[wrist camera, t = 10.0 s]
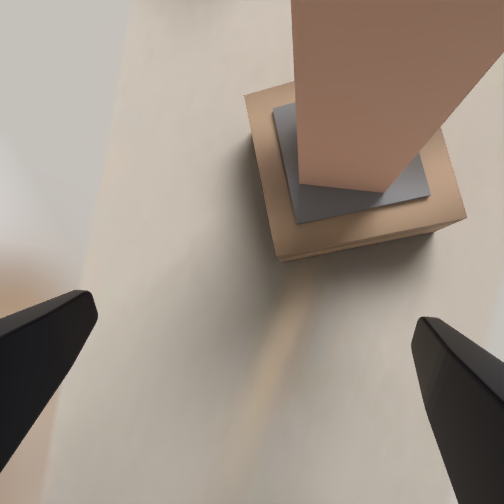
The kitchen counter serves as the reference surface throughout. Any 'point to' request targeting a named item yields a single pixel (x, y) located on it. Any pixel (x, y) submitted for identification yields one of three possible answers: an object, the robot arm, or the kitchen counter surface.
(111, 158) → the kitchen counter surface
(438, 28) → the peach rectangular block
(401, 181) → the walnut plinth
